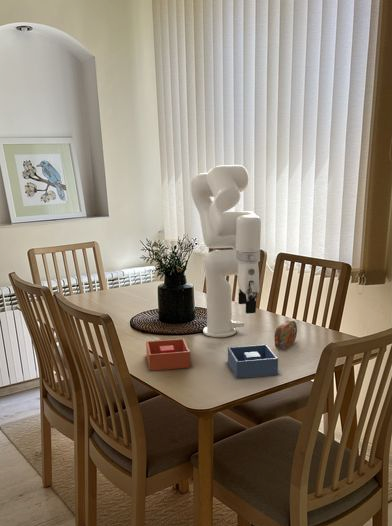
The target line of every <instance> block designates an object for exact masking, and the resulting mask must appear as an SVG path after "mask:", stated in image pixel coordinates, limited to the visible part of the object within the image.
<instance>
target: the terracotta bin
mask: <svg viewBox="0 0 392 526" xmlns="http://www.w3.org/2000/svg"><path fill="white" fill-rule="evenodd" d="M169 345H173V347H174V350H175V352H173V353H160V346H169ZM145 346H146V347H145V348H146V358H147V363H148V367H149V372H151V371H153V372H154V371H162V370H163V371H164V370H175V369H187V368H188V369H189V368H191V351H190V349H189V347H188V345H187V342H186V339H185V338H174V339H161V340H147V341H145Z"/></svg>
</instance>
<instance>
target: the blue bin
mask: <svg viewBox="0 0 392 526" xmlns="http://www.w3.org/2000/svg"><path fill="white" fill-rule="evenodd" d="M256 351H257V352H258V353H259V355H260V356H261V359H258V360H246V361H244V352H256ZM227 364H228V366H229V368H230V370H231V371H232V373H233V374H234V376H235V378H236V379H243V378H244V379H245V378H256V377H257V378H258V377H267V376H278V375H279V358H278V356H277V355H276V353H274V352H273V350H272V349H271V348H270V347H269V346H268V345H267V344H255V345H253V344H251V345H240V346H229V347H227Z"/></svg>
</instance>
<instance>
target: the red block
mask: <svg viewBox="0 0 392 526" xmlns="http://www.w3.org/2000/svg"><path fill="white" fill-rule="evenodd" d="M173 352H175V350H174V347H173V345H169V346H160V353H173Z"/></svg>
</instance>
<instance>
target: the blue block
mask: <svg viewBox="0 0 392 526" xmlns="http://www.w3.org/2000/svg"><path fill="white" fill-rule="evenodd" d="M258 359H261V356H260V355H259V353H258V352H257V351H256V352H244V361H246V360H258Z"/></svg>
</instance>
